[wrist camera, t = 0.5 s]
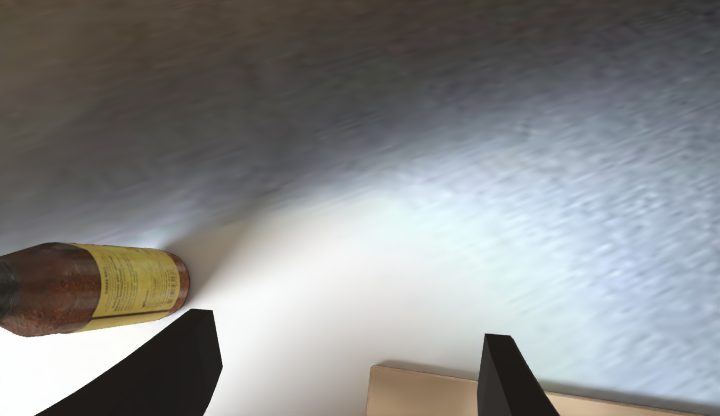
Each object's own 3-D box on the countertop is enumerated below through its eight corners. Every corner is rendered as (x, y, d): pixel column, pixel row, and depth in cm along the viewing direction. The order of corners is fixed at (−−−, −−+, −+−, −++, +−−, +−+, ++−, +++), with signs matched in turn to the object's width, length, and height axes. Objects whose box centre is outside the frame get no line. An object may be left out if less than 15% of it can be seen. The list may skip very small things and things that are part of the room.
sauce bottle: (165, 236, 44) (-73, 197, 25) (206, 285, 42) (-16, 283, 23) (118, 287, 44) (-153, 288, 25) (157, 338, 43) (-102, 379, 24)
